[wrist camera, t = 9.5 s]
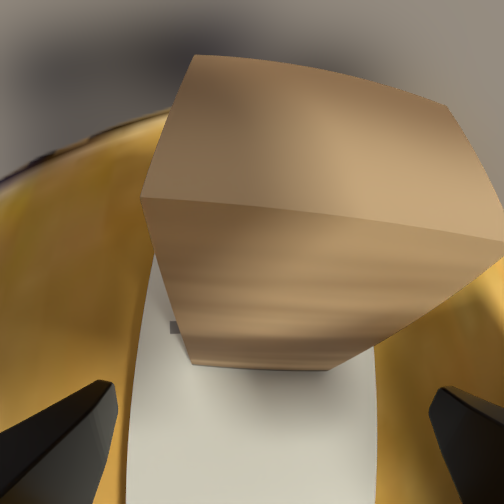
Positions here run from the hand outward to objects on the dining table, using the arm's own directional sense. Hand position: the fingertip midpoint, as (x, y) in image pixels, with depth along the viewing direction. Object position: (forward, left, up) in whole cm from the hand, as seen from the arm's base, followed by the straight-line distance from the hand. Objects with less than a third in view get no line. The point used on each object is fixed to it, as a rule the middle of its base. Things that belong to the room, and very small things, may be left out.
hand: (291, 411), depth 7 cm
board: (0, 0, -7) cm, 7 cm away
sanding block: (+4, +2, -6) cm, 7 cm away
